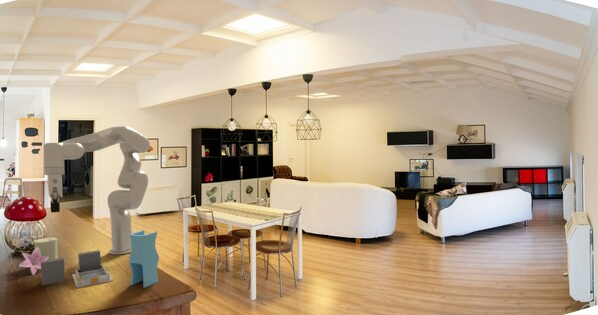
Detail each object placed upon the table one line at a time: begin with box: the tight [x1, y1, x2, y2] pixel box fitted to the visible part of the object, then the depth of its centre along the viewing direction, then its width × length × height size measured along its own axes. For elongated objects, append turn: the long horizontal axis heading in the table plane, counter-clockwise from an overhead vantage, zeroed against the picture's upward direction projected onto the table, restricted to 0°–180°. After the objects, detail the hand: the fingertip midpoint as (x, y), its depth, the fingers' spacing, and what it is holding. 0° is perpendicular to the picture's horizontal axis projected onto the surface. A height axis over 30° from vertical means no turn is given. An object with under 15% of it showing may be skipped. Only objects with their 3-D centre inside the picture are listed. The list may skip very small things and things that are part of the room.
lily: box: [19, 247, 49, 276], centre depth 180 cm, size 12×12×10 cm
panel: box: [40, 257, 66, 286], centre depth 166 cm, size 8×3×9 cm, turn 124°
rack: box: [71, 249, 114, 289], centre depth 169 cm, size 13×18×10 cm
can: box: [33, 237, 59, 260], centre depth 191 cm, size 9×9×12 cm
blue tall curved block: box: [128, 230, 160, 289], centre depth 161 cm, size 8×8×20 cm
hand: (55, 210), depth 176 cm, fingers open, 9 cm apart
